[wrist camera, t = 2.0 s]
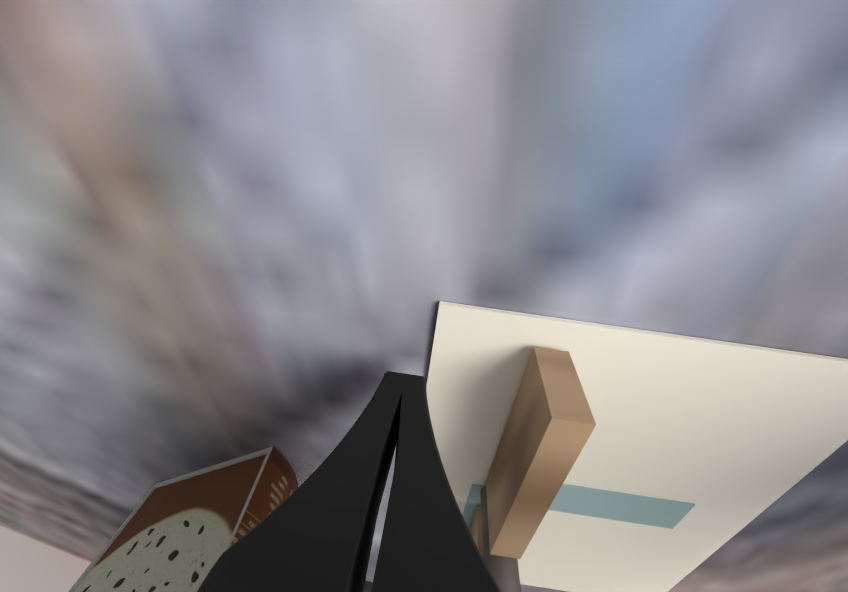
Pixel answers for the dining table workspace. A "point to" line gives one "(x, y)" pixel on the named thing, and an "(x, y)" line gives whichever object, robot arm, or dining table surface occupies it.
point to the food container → (189, 525)
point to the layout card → (636, 439)
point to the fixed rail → (477, 529)
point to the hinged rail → (532, 460)
